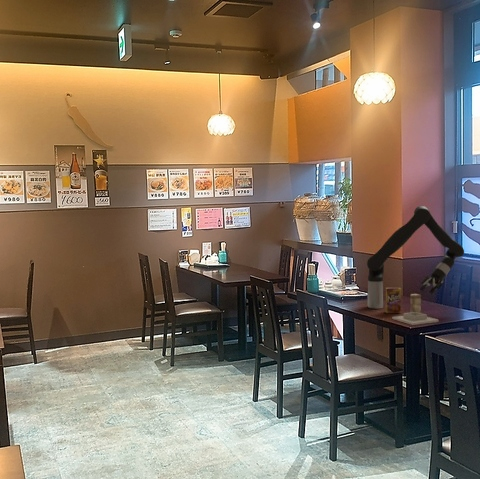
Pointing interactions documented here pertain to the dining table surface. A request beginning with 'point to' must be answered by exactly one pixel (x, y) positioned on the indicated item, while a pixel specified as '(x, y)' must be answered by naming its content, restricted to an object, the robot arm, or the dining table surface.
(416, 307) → the beige capped cylinder
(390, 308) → the candy box
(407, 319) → the holder
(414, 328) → the dining table surface
